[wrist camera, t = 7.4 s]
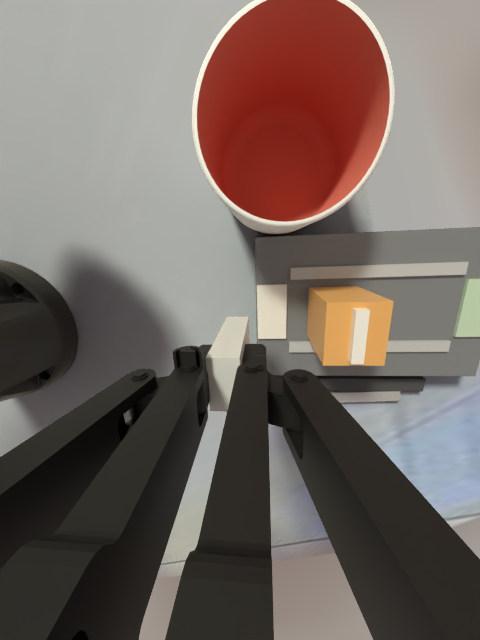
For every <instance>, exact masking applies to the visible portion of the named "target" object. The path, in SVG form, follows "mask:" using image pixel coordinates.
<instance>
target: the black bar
mask: <svg viewBox="0 0 480 640" xmlns="http://www.w3.org/2000/svg"><path fill="white" fill-rule="evenodd" d="M275 376H278V377H283V375H275ZM316 377H317V378H318V379H319V380H320V381H321V382H322V384H323V385H324V386H325V387H326V388H327V389H328V390H347V391H423V387H424V383H425V379H424V378H423V377H422V376H316Z"/></svg>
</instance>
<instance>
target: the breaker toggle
mask: <svg viewBox="0 0 480 640" xmlns="http://www.w3.org/2000/svg"><path fill="white" fill-rule="evenodd" d="M393 303H394V301H392V300H390V299H387V298H385V297H382V296H380V295H377V294H375V293H373V292H370V291H368V290H365V289H363V288H360V287H358V286H339V287H309V295H308V319H307V336H308V338H309V340H310V342H311V344H312V346H313V348H314V350H315V351H316V353H317V355H318V357H319V359H320V361H321V363H322V365H323V366H384V365H385V358H386V351H387V344H388V337H389V331H390V324H391V317H392V310H393Z"/></svg>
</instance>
